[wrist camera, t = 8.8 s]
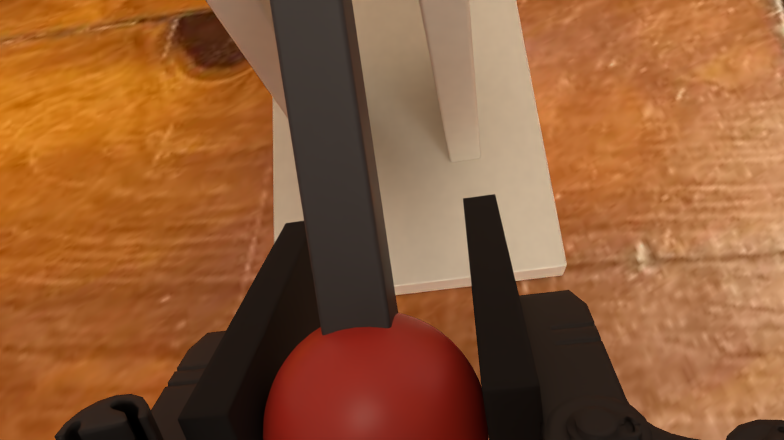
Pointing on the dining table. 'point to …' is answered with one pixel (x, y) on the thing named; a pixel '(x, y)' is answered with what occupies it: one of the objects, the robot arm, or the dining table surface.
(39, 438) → the dining table surface
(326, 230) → the switch lever
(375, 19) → the switch bracket
